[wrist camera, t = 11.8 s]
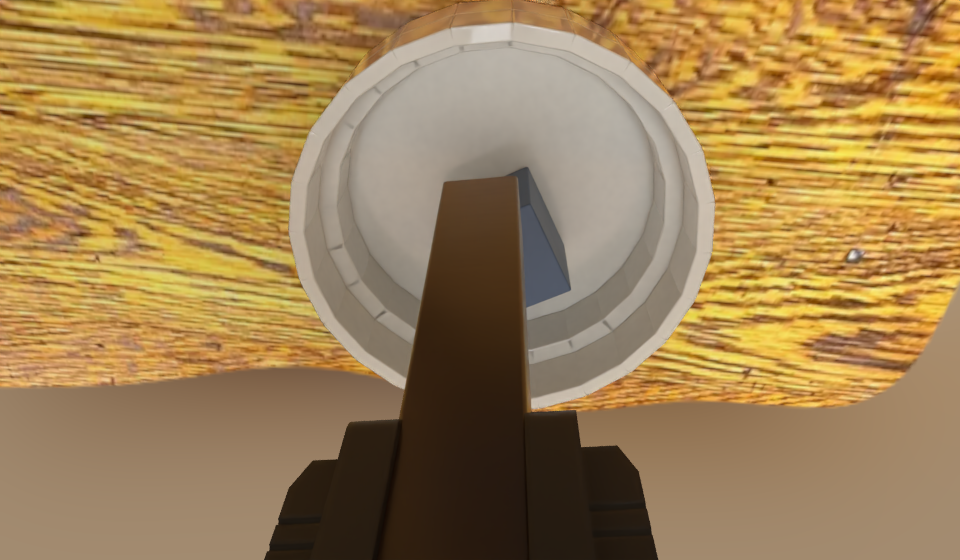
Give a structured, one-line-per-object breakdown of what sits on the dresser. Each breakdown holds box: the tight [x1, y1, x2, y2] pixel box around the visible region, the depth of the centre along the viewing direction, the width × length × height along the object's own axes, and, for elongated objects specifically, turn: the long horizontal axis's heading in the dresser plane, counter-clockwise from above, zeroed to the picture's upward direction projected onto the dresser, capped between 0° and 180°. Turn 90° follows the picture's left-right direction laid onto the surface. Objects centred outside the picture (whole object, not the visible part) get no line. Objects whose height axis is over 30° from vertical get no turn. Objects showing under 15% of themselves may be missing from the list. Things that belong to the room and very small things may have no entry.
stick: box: [377, 176, 532, 560], centre depth 13 cm, size 2×2×14 cm
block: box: [504, 167, 571, 308], centre depth 31 cm, size 4×4×4 cm
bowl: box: [288, 0, 715, 409], centre depth 30 cm, size 15×15×6 cm
